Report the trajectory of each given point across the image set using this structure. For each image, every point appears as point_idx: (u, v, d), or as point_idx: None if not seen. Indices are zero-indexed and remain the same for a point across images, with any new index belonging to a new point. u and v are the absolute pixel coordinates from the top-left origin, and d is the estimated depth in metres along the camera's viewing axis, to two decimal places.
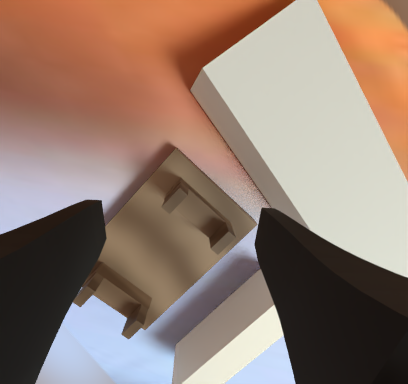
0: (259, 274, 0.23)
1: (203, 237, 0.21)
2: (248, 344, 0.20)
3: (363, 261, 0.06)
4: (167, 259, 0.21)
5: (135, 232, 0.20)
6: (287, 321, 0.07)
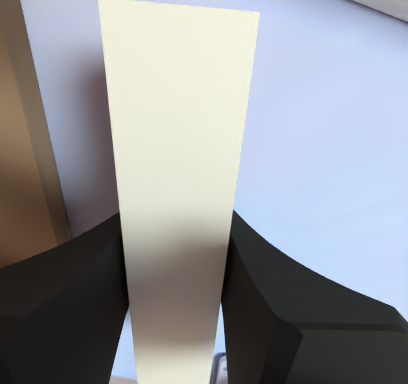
0: None
1: None
2: (174, 241, 0.06)
3: (287, 258, 0.06)
4: None
5: None
6: (226, 320, 0.07)
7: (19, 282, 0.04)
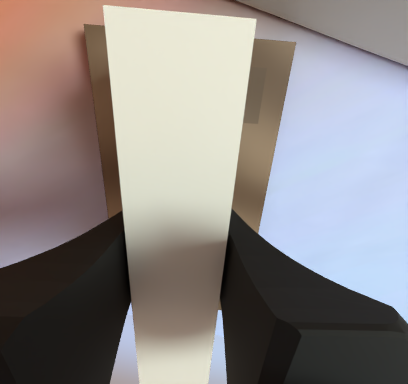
0: None
1: None
2: (174, 237, 0.07)
3: (286, 258, 0.06)
4: None
5: None
6: (225, 320, 0.07)
7: (21, 281, 0.04)
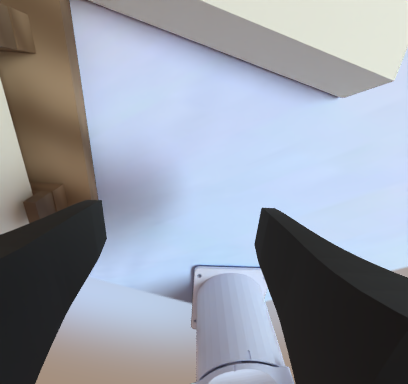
0: None
1: (27, 66, 0.15)
2: None
3: (363, 261, 0.06)
4: (27, 128, 0.16)
5: None
6: (287, 321, 0.07)
7: None
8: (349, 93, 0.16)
